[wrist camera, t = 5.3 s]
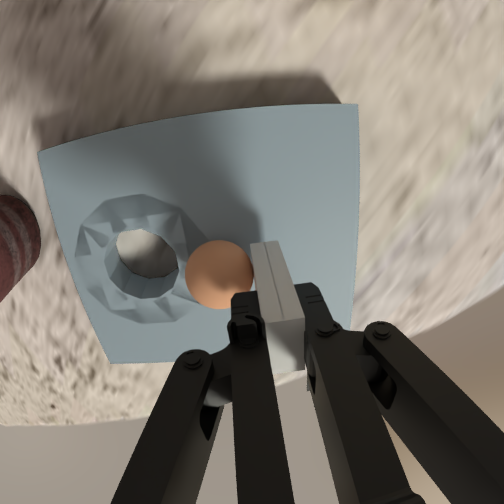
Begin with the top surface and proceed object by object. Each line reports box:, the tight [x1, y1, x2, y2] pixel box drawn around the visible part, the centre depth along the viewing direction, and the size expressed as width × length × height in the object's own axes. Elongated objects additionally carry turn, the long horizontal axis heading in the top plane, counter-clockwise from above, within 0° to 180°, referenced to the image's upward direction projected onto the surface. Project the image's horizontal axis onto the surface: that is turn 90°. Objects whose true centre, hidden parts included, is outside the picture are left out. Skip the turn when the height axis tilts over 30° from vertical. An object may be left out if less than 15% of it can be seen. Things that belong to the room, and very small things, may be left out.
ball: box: [185, 240, 254, 309], centre depth 16 cm, size 4×4×4 cm
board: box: [37, 104, 360, 364], centre depth 19 cm, size 16×18×2 cm
